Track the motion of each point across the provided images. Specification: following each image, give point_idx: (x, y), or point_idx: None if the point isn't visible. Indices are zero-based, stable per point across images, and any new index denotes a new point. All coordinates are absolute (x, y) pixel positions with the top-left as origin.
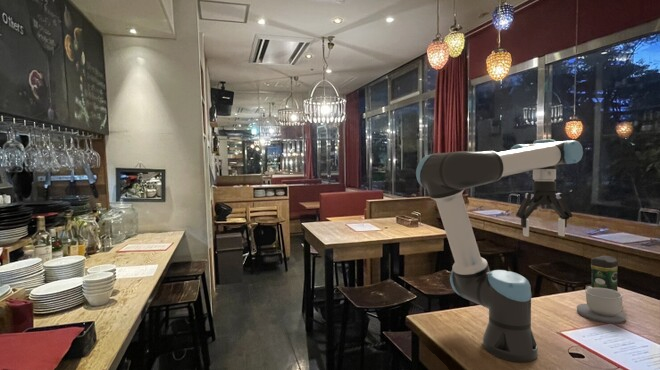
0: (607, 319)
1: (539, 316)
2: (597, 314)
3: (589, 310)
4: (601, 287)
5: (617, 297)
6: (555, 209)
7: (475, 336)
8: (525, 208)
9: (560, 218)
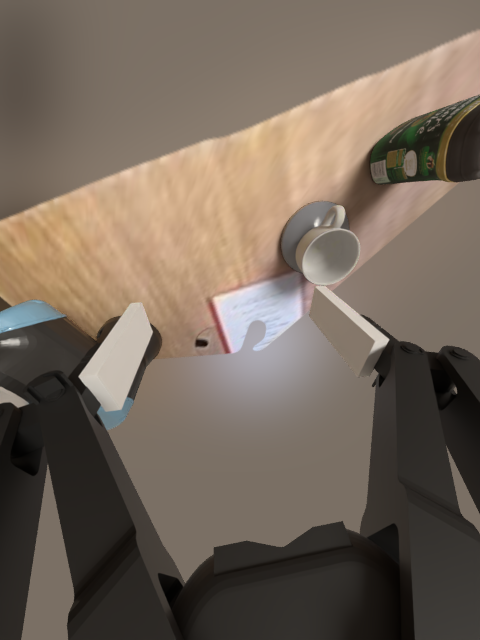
0: (298, 271)
1: (208, 245)
2: None
3: (299, 238)
4: (396, 171)
5: (349, 256)
6: (383, 439)
7: (91, 314)
8: (24, 539)
9: (387, 342)
